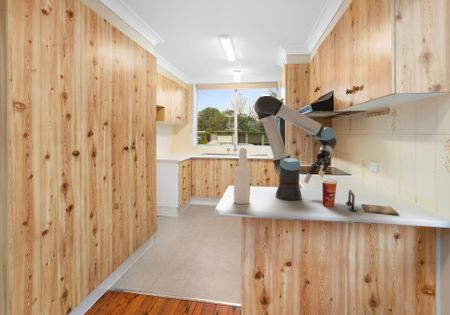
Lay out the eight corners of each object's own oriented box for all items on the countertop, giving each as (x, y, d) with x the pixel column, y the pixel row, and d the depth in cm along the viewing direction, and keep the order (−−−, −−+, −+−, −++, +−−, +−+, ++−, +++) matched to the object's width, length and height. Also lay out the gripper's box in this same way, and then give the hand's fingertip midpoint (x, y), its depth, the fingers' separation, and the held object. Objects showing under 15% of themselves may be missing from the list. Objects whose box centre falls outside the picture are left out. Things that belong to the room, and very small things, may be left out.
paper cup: (328, 208, 131) (329, 181, 130) (317, 204, 138) (318, 179, 137) (339, 206, 134) (340, 180, 133) (328, 203, 141) (329, 178, 140)
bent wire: (349, 211, 126) (350, 194, 125) (345, 203, 141) (346, 188, 140) (356, 212, 125) (357, 195, 124) (351, 204, 140) (352, 189, 139)
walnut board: (365, 212, 125) (365, 210, 125) (361, 205, 138) (361, 203, 138) (398, 215, 121) (398, 213, 121) (390, 208, 133) (391, 206, 133)
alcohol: (249, 200, 143) (251, 148, 141) (249, 204, 134) (251, 148, 132) (234, 200, 144) (235, 147, 141) (233, 204, 135) (234, 148, 133)
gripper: (343, 149, 148) (332, 176, 137) (316, 164, 170) (304, 188, 159) (334, 141, 148) (322, 168, 137) (307, 157, 169) (295, 180, 159)
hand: (312, 178), depth 148 cm, fingers open, 13 cm apart
